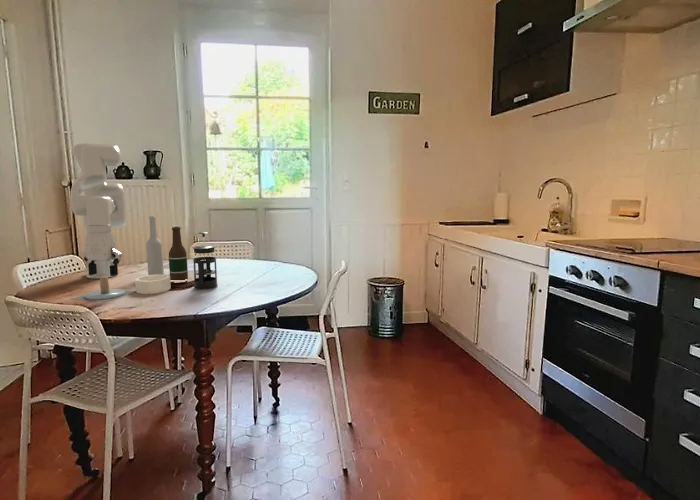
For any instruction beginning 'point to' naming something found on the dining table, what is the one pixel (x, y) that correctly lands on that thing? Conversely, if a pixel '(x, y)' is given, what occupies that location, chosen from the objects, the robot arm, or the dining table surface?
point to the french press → (205, 281)
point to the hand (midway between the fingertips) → (103, 274)
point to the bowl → (152, 284)
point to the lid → (104, 291)
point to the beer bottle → (177, 257)
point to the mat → (104, 299)
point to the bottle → (154, 251)
